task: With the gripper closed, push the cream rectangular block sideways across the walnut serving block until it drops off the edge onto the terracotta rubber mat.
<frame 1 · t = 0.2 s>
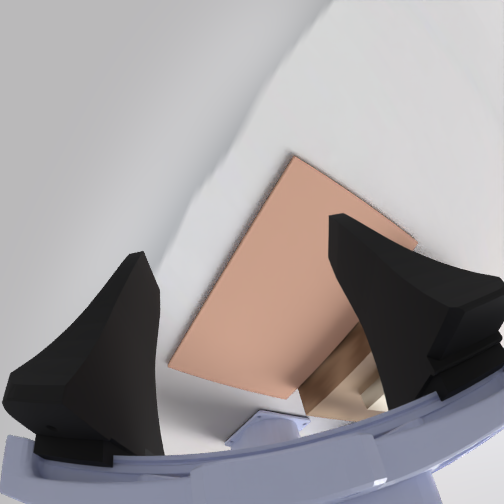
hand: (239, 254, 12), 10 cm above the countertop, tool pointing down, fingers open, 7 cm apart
serving block: (390, 346, 31), on the countertop
cream rectangular block: (405, 371, 28), point 4 cm above the countertop, touching serving block
mat: (290, 308, 27), on the countertop
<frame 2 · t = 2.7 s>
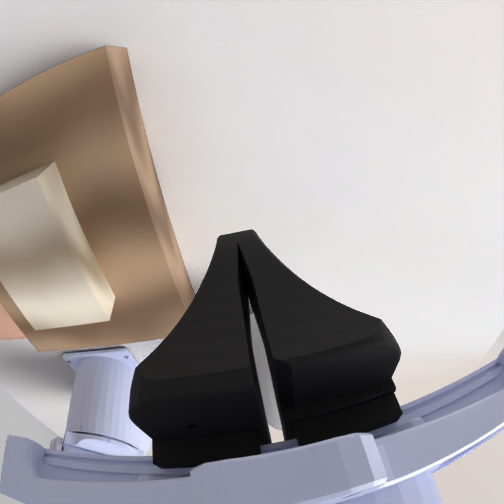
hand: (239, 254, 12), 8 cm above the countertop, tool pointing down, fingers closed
donut: (263, 321, 27), on the countertop
serving block: (66, 213, 18), on the countertop
cream rectangular block: (44, 247, 15), point 4 cm above the countertop, touching serving block
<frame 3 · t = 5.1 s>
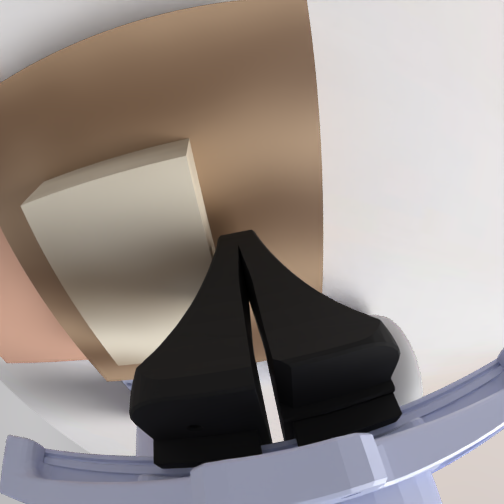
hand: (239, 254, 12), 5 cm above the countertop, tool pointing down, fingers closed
donut: (359, 327, 25), on the countertop
serving block: (165, 209, 16), on the countertop
cream rectangular block: (144, 258, 12), point 4 cm above the countertop, touching gripper, serving block
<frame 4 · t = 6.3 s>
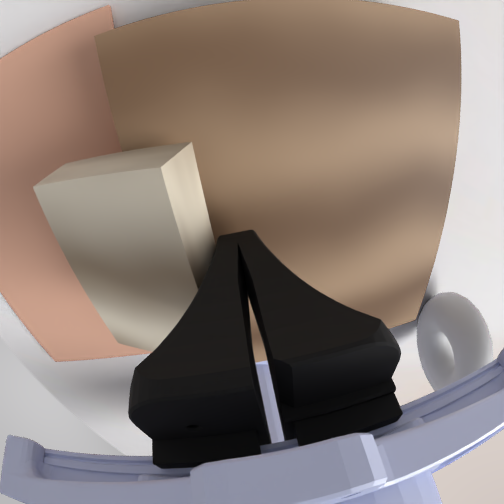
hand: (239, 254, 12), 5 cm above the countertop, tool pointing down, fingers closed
donut: (425, 307, 25), on the countertop
serving block: (297, 184, 16), on the countertop
cream rectangular block: (152, 253, 12), point 4 cm above the countertop, tilted 22°, touching serving block
mat: (53, 238, 15), on the countertop
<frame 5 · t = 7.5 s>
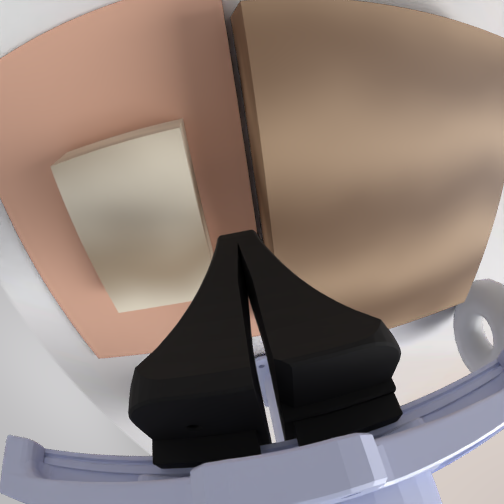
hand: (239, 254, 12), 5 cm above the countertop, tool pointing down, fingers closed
donut: (460, 294, 25), on the countertop
serving block: (377, 173, 16), on the countertop
cream rectangular block: (139, 237, 14), point 2 cm above the countertop, tilted 180°, touching mat
mat: (122, 220, 16), on the countertop
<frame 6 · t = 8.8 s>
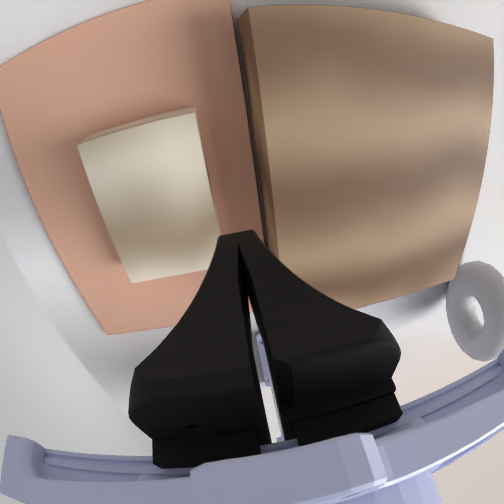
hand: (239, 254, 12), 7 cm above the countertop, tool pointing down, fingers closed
donut: (452, 277, 27), on the countertop
serving block: (367, 157, 18), on the countertop
cream rectangular block: (155, 209, 15), point 2 cm above the countertop, tilted 180°, touching mat
mat: (138, 197, 17), on the countertop
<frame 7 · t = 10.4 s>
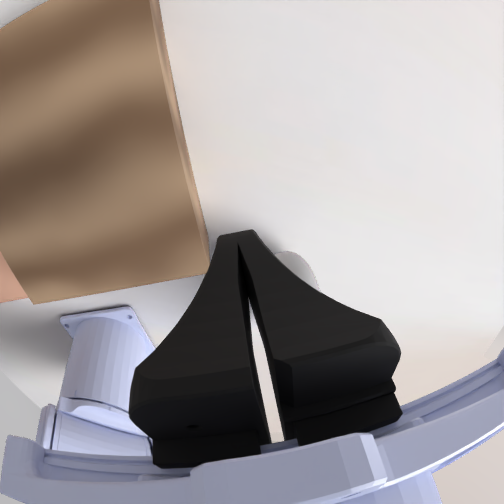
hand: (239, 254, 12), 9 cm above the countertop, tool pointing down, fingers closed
donut: (280, 274, 26), on the countertop
serving block: (77, 144, 17), on the countertop
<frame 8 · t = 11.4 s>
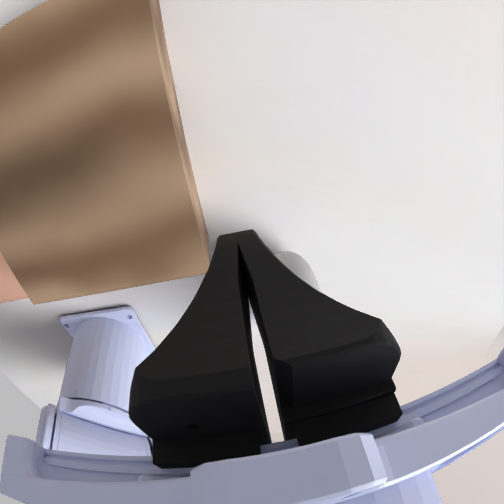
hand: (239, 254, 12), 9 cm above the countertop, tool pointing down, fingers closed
donut: (280, 274, 26), on the countertop
serving block: (77, 144, 17), on the countertop
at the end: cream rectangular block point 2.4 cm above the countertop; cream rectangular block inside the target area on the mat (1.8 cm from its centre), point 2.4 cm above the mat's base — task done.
